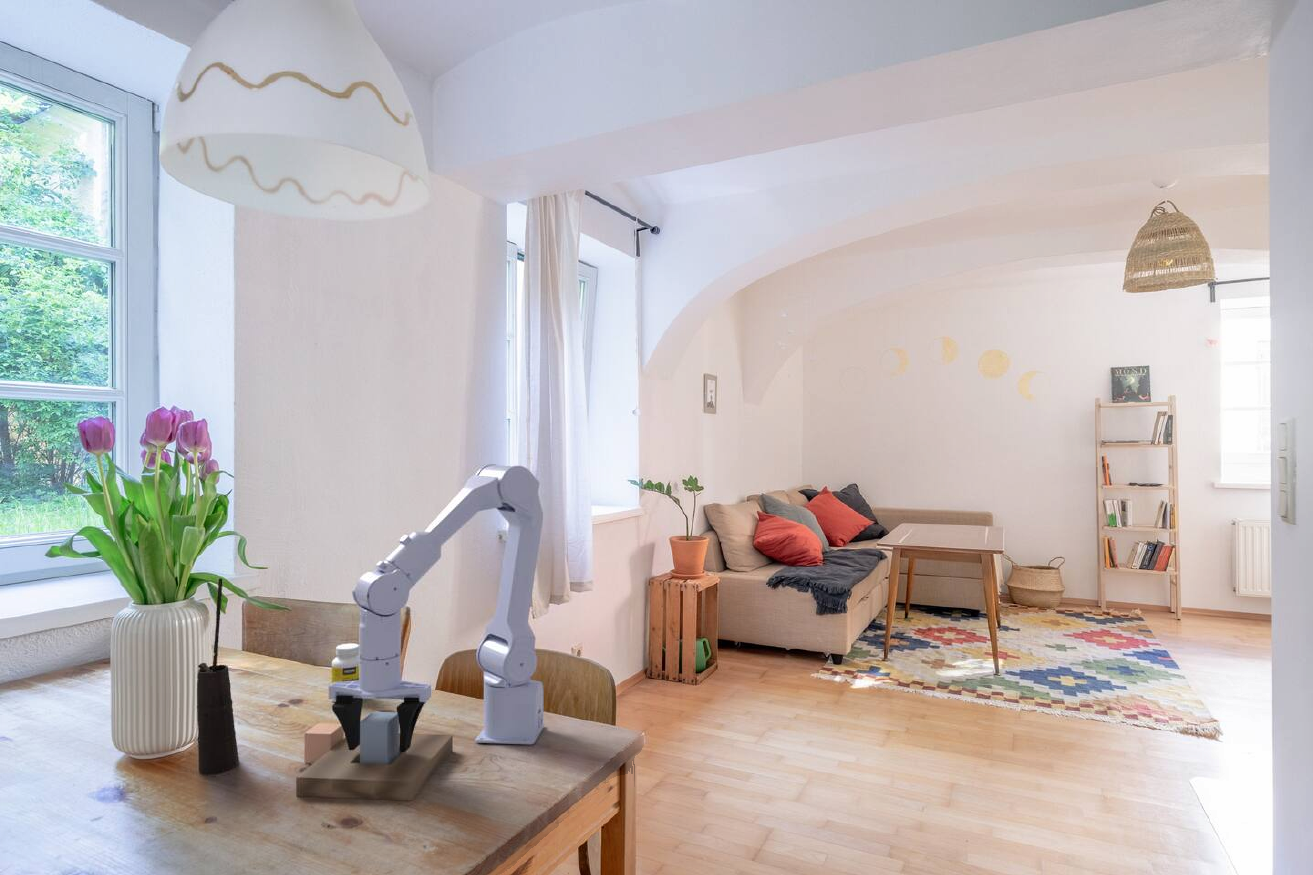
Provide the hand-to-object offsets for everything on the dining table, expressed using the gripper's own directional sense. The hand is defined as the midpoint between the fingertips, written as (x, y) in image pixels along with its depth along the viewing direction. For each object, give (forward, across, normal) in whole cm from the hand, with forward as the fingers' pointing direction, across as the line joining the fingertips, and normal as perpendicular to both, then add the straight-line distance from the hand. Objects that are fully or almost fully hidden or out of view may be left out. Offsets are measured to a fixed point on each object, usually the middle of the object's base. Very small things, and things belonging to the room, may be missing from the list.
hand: (379, 748), depth 109 cm
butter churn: (+4, -26, 0) cm, 26 cm away
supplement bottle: (+4, -20, +29) cm, 35 cm away
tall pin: (+3, 0, 0) cm, 3 cm away
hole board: (+3, 0, 0) cm, 3 cm away
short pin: (+3, -10, +4) cm, 12 cm away
